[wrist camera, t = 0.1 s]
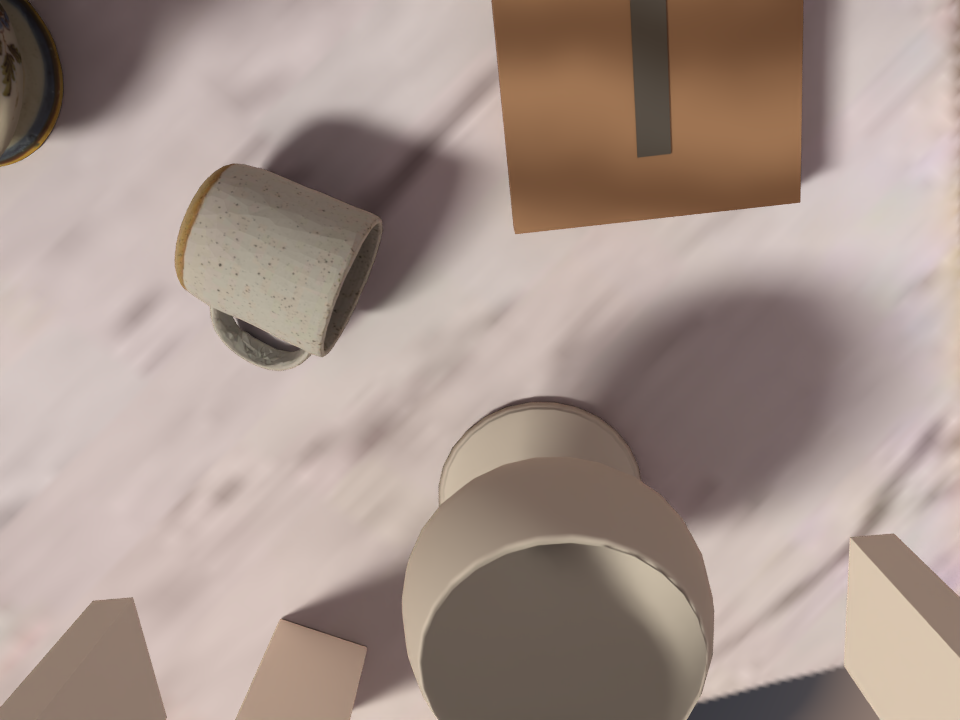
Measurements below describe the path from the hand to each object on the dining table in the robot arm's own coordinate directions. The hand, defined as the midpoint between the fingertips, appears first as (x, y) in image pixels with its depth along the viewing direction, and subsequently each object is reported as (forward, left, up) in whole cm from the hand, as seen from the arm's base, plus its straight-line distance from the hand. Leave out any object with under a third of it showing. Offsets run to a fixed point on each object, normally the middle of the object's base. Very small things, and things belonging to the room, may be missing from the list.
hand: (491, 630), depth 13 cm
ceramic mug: (-3, -10, -28) cm, 30 cm away
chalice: (+12, +2, -28) cm, 31 cm away
